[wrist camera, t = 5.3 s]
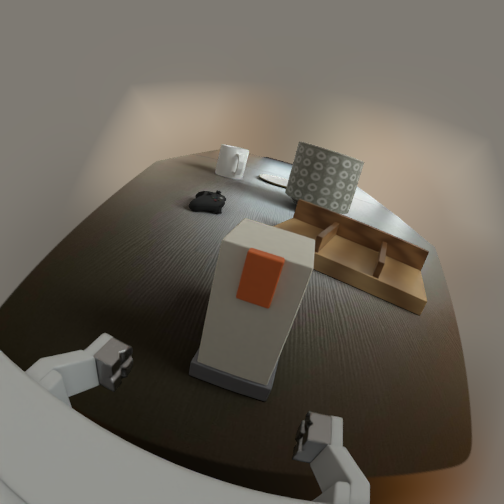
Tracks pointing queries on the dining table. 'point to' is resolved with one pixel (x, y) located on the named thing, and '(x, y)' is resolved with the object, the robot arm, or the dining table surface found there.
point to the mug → (231, 162)
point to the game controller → (208, 202)
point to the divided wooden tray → (362, 255)
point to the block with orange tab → (252, 306)
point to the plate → (275, 180)
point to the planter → (323, 178)
